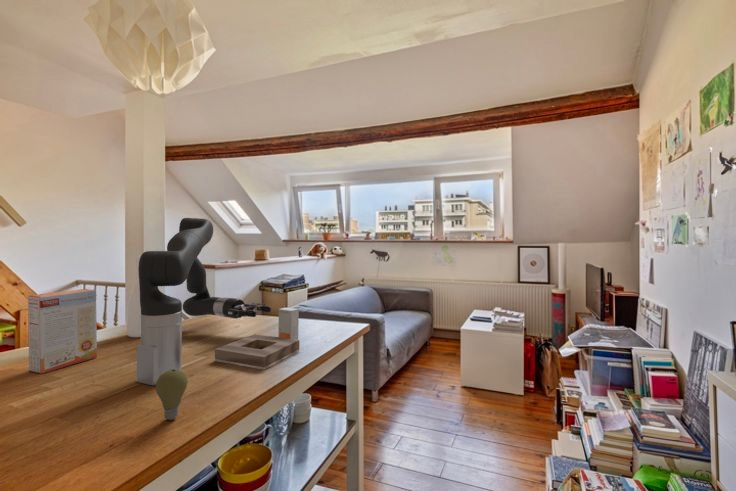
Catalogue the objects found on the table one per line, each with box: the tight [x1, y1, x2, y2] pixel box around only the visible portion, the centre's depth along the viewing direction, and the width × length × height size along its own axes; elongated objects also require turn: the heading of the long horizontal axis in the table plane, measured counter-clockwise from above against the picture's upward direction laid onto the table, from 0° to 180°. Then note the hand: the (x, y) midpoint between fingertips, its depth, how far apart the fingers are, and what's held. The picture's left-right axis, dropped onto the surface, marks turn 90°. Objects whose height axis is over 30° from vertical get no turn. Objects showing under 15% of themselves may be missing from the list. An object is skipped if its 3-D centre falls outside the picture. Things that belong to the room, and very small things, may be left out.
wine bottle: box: [126, 255, 141, 338], centre depth 130 cm, size 10×10×30 cm
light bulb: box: [155, 369, 188, 421], centre depth 69 cm, size 6×6×10 cm
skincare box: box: [277, 307, 300, 340], centre depth 123 cm, size 6×4×12 cm
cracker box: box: [27, 288, 98, 375], centre depth 99 cm, size 14×6×21 cm, turn 160°
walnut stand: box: [214, 333, 300, 371], centre depth 108 cm, size 18×18×4 cm
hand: (263, 311), depth 127 cm, fingers open, 8 cm apart
